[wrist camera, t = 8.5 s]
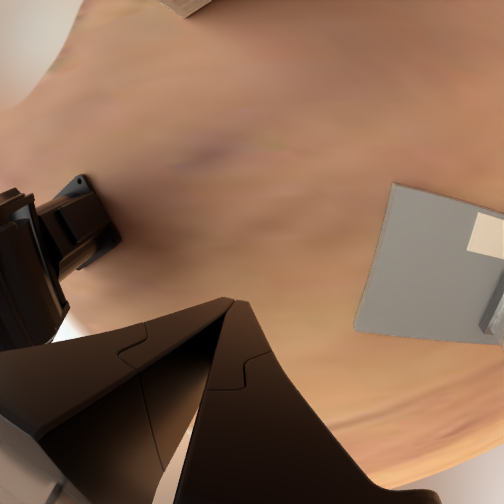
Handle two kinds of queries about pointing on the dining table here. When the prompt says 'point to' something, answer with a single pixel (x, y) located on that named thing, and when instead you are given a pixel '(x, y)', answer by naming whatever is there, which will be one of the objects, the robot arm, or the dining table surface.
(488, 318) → the bar
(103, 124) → the dining table surface
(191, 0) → the skincare box
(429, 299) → the gauge board
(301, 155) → the dining table surface
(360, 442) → the dining table surface
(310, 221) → the dining table surface
